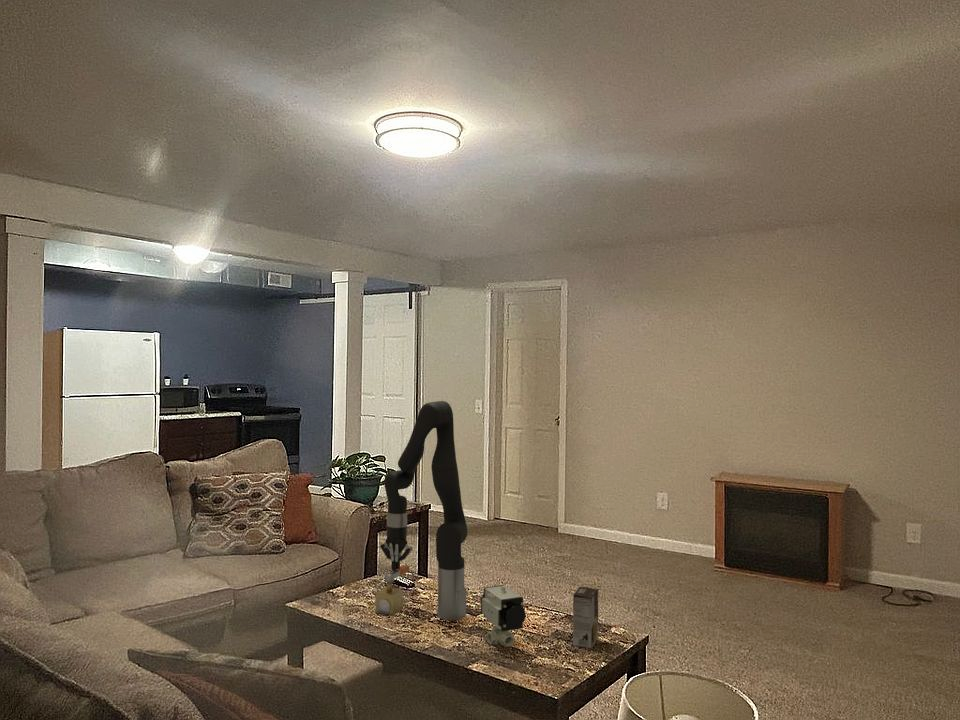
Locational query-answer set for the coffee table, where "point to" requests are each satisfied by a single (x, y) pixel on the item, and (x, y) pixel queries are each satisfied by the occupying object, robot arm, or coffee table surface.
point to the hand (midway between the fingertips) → (395, 571)
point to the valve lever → (396, 573)
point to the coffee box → (585, 617)
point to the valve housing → (389, 600)
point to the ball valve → (502, 613)
